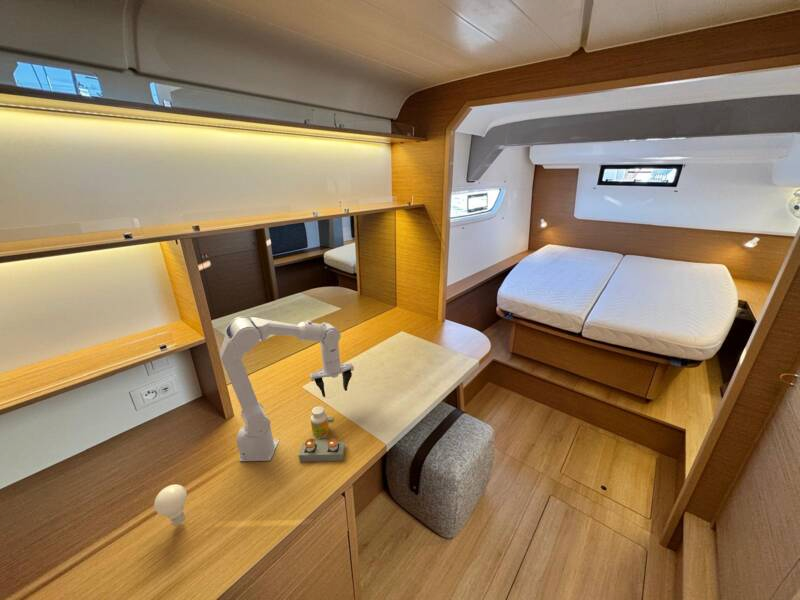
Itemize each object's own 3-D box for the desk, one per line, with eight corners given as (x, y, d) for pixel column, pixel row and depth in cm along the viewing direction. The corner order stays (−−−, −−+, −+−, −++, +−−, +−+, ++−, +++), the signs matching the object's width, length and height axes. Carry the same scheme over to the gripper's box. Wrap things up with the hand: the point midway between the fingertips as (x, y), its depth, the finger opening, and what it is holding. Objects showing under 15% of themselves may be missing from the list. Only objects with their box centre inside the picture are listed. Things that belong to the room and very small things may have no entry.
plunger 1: (305, 457, 96) (303, 446, 94) (307, 449, 99) (306, 438, 97) (315, 457, 96) (313, 446, 94) (317, 449, 99) (315, 438, 97)
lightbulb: (199, 509, 81) (188, 477, 78) (184, 534, 76) (172, 502, 72) (174, 510, 81) (162, 478, 78) (157, 536, 75) (143, 503, 72)
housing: (299, 461, 95) (298, 455, 94) (313, 420, 111) (312, 415, 111) (342, 460, 95) (341, 454, 94) (350, 420, 112) (349, 414, 111)
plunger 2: (328, 456, 96) (326, 445, 94) (330, 448, 99) (328, 438, 97) (338, 456, 96) (336, 445, 94) (339, 448, 99) (338, 438, 97)
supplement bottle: (312, 441, 103) (309, 416, 99) (312, 429, 108) (309, 406, 104) (329, 437, 104) (326, 413, 101) (328, 426, 109) (326, 403, 106)
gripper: (311, 369, 99) (316, 405, 103) (355, 358, 105) (358, 392, 109) (307, 359, 105) (311, 393, 109) (349, 349, 111) (351, 382, 115)
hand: (334, 392), depth 110 cm, fingers open, 7 cm apart
